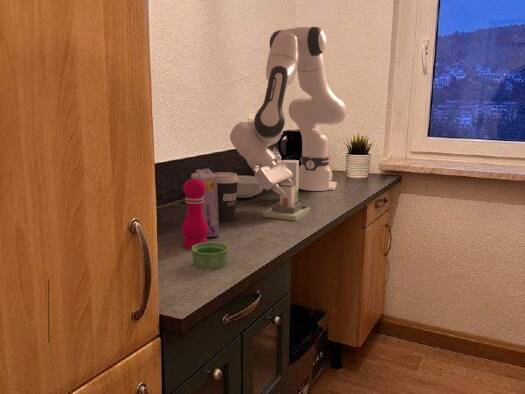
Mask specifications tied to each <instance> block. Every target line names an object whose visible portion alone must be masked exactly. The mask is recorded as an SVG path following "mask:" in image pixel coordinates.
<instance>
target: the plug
mask: <svg viewBox="0 0 525 394" xmlns="http://www.w3.org/2000/svg"><path fill="white" fill-rule="evenodd" d="M279 187H280V188H281V189H282V190H284V191H285V192H286V195H285V196H284V197H281V196H280V195H279V201H280V205H281V206H289V207H293V206H295V184H294V183H283V184H280V185H279Z"/></svg>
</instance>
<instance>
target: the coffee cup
mask: <svg viewBox="0 0 525 394" xmlns="http://www.w3.org/2000/svg"><path fill="white" fill-rule="evenodd" d="M213 174H214V176H215V177H216V178H217V193H218V220H219V222H231V221H234V220H235V217H236V216H235V214H236V204H237V203H236V202H237V197H236V195H237V185H238V182H239V178H238V177H237V176H238V174H237V173H236V172H230V171H229V172H228V171H227V172H226V171H225V172H224V171H221V172H219V171H218V172H213Z"/></svg>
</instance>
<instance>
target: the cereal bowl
mask: <svg viewBox="0 0 525 394" xmlns="http://www.w3.org/2000/svg"><path fill="white" fill-rule="evenodd" d="M237 177H238V178H239V182H238V185H237V195H236V198H239V199H249V198H253V197H254V196H255V195H256V196H257V195H259V194H261V192H263V190H265V189H264V188H263V187H262V186H261V184H260V183H259V182H258V180H257V179H256V177H255V175H254V176H253V175H237Z"/></svg>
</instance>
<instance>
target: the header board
mask: <svg viewBox="0 0 525 394" xmlns="http://www.w3.org/2000/svg"><path fill="white" fill-rule="evenodd" d="M309 212H311V207H309V205H308V204H303V203H302V202H297V201H296V202H295V206H293V207H289V206H281V205H280V200H279V201H277V202H276V203H274V204H272V205H271V207H270V208H268V209H266V210H264V211H263V212H262V217H265V218H272V219H278V220H280V219H281V220H287V221H288V220H289V221H295V222H296V221H298V220H300V219H301V218H303V217H304V216H305V215H307V214H309Z"/></svg>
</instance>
